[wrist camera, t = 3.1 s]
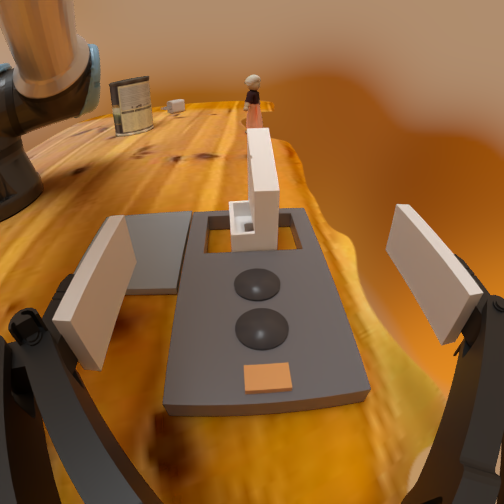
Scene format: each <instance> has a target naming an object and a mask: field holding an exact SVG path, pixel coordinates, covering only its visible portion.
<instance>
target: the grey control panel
mask: <svg viewBox="0 0 504 504" xmlns="http://www.w3.org/2000/svg"><path fill="white" fill-rule="evenodd" d="M286 226H290V228H291V231H292V234H293V237H294V241H295V244H296V247H297V249H295V250H272V251H249V252H226V253H207V247H208V237H209V230H213V229H230V214H229V211H208V212H194V213H193V218H192V223H191V227H190V232H189V237H188V242H187V247H186V253H185V258H184V263H183V268H182V274H181V280H180V285H179V291H178V297H177V303H176V309H175V315H174V321H173V328H172V335H171V341H170V348H169V356H168V363H167V371H166V379H165V387H164V396H163V406H164V407H165V409H166V411H167V413H168V414H169V415H173V416H243V415H261V414H275V413H286V412H296V411H304V410H312V409H320V408H327V407H334V406H340V405H346V404H351V403H357V402H362V401H364V400H365V398H366V397H367V395H368V393H369V392H370V390H371V387H370V384H369V381H368V378H367V375H366V372H365V369H364V365H363V362H362V359H361V356H360V353H359V350H358V348H357V345H356V342H355V339H354V336H353V333H352V330H351V327H350V324H349V322H348V319H347V316H346V313H345V311H344V308H343V305H342V302H341V300H340V297H339V294H338V292H337V289H336V286H335V284H334V281H333V278H332V276H331V273H330V271H329V268H328V266H327V263H326V260H325V258H324V255H323V253H322V250H321V248H320V245H319V243H318V241H317V238H316V236H315V233H314V231H313V228H312V226H311V224H310V221H309V219H308V216H307V214H306V212H305V209H304V208H283V209H279V219H278V227H286Z"/></svg>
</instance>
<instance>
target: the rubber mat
mask: <svg viewBox="0 0 504 504" xmlns="http://www.w3.org/2000/svg"><path fill="white" fill-rule="evenodd" d="M108 218H109V217H107V218H106V219H105V221H104V222H103V224H102V226H101V227H100V229H99V230H98V232H97V234H96V235H95V237H94V239H93V240H92V242H91V244H90V245H89V247H88V249H87V251H86V252H85V254H84V256H83V257H82V259H81V261H80V263H79V265H78V266H77V268H76V270H75V272H74V274H76V272H77V270H78V268H79V267H80V265H81V263H82V261H83V260H84V258H85V256H86V254H87V253H88V251H89V249H90V248H91V246H92V244H93V242H94V241H95V239H96V238H97V236H98V234H99V233H100V231H101V229H102V228H103V226H104V225H105V223H106V221H107V220H108ZM125 220H126V224H127V228H128V232H129V235H130V239H131V243H132V247H133V250H134V254H135V258H136V261H137V262H136V265H135V268H134V270H133V273H132V276H131V279H130V281H129V284H128V287H127V290H126V293H125V295H148V294H177V293H178V288H179V282H180V276H181V271H182V266H183V260H184V255H185V250H186V245H187V240H188V235H189V230H190V225H191V221H192V211H183V212H167V213H153V214H139V215H127V216H125Z"/></svg>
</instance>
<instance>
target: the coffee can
mask: <svg viewBox="0 0 504 504" xmlns="http://www.w3.org/2000/svg"><path fill="white" fill-rule="evenodd" d="M109 86H110V93H111V101H112V109H113V117H114V123H115V130H116V135H117V136H130V135H135V134H139V133H143V132H146V131H149V130H151V129H152V128H153V127H154V126H153V119H152V109H151V99H150V88H149V76H144V77H137V78H131V79H126V80H122V81H117V82H113V83H110V84H109Z"/></svg>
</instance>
